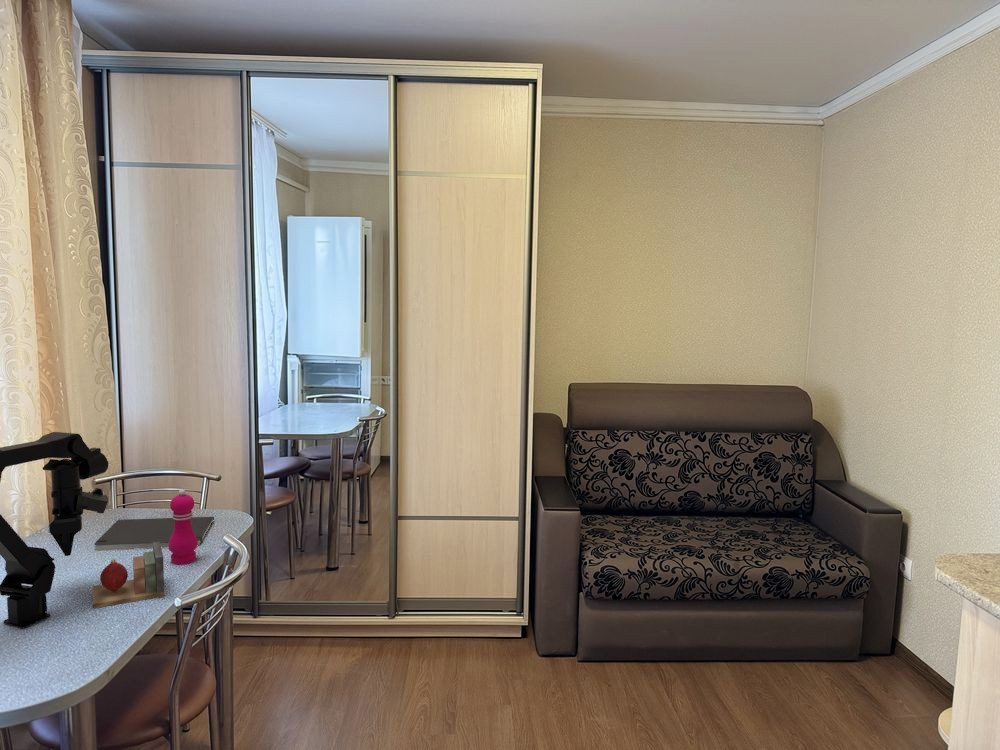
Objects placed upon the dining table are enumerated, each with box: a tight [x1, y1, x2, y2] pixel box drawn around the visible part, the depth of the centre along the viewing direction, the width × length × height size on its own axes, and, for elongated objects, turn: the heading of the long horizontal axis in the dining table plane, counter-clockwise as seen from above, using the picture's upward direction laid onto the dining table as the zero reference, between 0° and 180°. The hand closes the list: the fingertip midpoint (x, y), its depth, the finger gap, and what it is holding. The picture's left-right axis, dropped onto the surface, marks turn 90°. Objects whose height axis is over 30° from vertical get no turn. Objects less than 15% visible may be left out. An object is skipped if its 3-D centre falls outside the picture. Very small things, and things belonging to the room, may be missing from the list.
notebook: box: [93, 516, 215, 551], centre depth 207 cm, size 22×2×28 cm
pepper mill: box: [168, 488, 198, 565], centre depth 188 cm, size 7×7×20 cm
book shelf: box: [92, 542, 165, 609], centre depth 168 cm, size 15×11×10 cm
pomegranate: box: [99, 558, 129, 592], centre depth 166 cm, size 6×6×8 cm
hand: (68, 548), depth 164 cm, fingers open, 9 cm apart
